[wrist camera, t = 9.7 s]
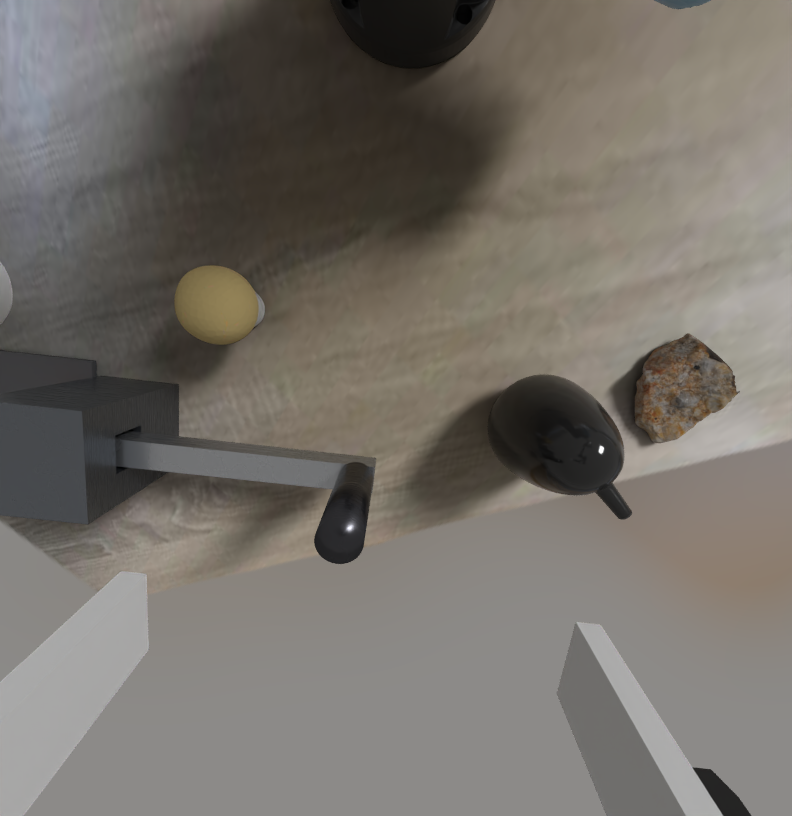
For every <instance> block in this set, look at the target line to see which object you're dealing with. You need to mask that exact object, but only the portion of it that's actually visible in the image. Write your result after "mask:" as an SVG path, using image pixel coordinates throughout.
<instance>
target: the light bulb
mask: <svg viewBox="0 0 792 816" xmlns="http://www.w3.org/2000/svg"><path fill="white" fill-rule="evenodd" d="M174 303H175V311H176V315H177V318H178V320H179V322H180V323H181V325H182V326H183V327H184V328H185V329H186V331H188V332H189V333H190V334H191V335H193V336H194V337H196V338H198V339H200V340H202V341H204V342H208V343H211V344H219V345H225V344H231V343H234V342H237V341H239V340H241V339H243V338H244V337H245V336H247V335H248V334H249V333H250V332H251V330H252V329H253V328H254V326H256V325H258V324H259V323H260V322H261V321H262V319H263V317H264V314H265V306H264V303H263V300H262V299H261V297H260V296H259V295H258V294H257V293H255V291H254V290H253V288H252V286H251V285H250V284H249V282H248V281H247V280H246V279H245V278H244V277H243V276H241V275H240V274H239V273H237V272H235V271H233V270H231V269H229V268H226V267H223V266H214V265H208V266H201V267H198V268H195V269H193V270H191V271H189V272H188V273H186V274H185V275H184V276H183V277H182V279H181V280H180V282H179V284H178V286H177V289H176V293H175V300H174Z"/></svg>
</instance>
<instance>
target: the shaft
mask: <svg viewBox="0 0 792 816" xmlns="http://www.w3.org/2000/svg"><path fill="white" fill-rule="evenodd" d="M115 451H116V466H119V467H128V468H137V469H147V470H156V471H165V472H175V473H184V474H194V475H203V476H212V477H222V478H231V479H241V480H250V481H259V482H269V483H278V484H288V485H297V486H306V487H316V488H325V489H333V490H332V493H331V495H330V498H329V500H328V503H327V506H326V508H325V511H324V513H323V516H322V518H321V521H320V524H319V526H318V529H317V531H316V534H315V539H314V543H315V547H316V550H317V552H318V553H319V554H320V556H321V557H322V558H324V559H325V560H327V561H329V562H332V563H336V564H344V563H348V562H351V561H353V560H354V559H356V558H357V557H358V556H359V555H360V553H361V551H362V549H363V546H364V539H365V533H366V526H367V519H368V513H369V506H370V499H371V493H372V490H373V483H374V474H375V465H376V458H373V457H364V456H355V455H345V454H336V453H327V452H318V451H308V450H299V449H290V448H281V447H271V446H262V445H253V444H244V443H235V442H225V441H216V440H207V439H198V438H188V437H179V436H170V435H161V434H152V433H142V432H133V431H125V432H123V433H120V434H118V435H115Z"/></svg>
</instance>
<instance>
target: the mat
mask: <svg viewBox="0 0 792 816" xmlns="http://www.w3.org/2000/svg"><path fill="white" fill-rule="evenodd" d="M92 377H97V374H96V361H93V360H84V359H75V358H66V357H57V356H48V355H39V354H30V353H21V352H12V351H3V350H0V394H1V393H7V392H12V391H18V390H24V389H29V388H35V387H41V386H46V385H52V384H58V383H63V382H69V381H75V380H80V379H86V378H92Z"/></svg>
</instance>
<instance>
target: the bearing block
mask: <svg viewBox="0 0 792 816" xmlns="http://www.w3.org/2000/svg"><path fill="white" fill-rule="evenodd" d="M125 431H133V432H142V433H152V434H161V435H170V436H179V384H171V383H162V382H153V381H144V380H135V379H126V378H117V377H108V376H97V377H92V378H86V379H80V380H75V381H69V382H63V383H58V384H52V385H46V386H41V387H35V388H29V389H24V390H18V391H12V392H7V393H1V394H0V515H3V516H13V517H23V518H32V519H42V520H52V521H61V522H71V523H81V524H89V523H91V522H92V521H94V520H95V519H97V518H98V517H100V516H101V515H103V514H105V513H106V512H108V511H109V510H111V509H112V508H114V507H115V506H117V505H118V504H120V503H122V502H123V501H125V500H126V499H128V498H129V497H131V496H132V495H134V494H135V493H137V492H138V491H140V490H142V489H143V488H145V487H146V486H148V485H149V484H151V483H152V482H154V481H155V480H157V479H158V478H160V477H162V476H163V475H165V474H166V473H168V472H165V471H156V470H147V469H137V468H128V467H119V466H116V451H115V435H118V434H120V433H123V432H125Z"/></svg>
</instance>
